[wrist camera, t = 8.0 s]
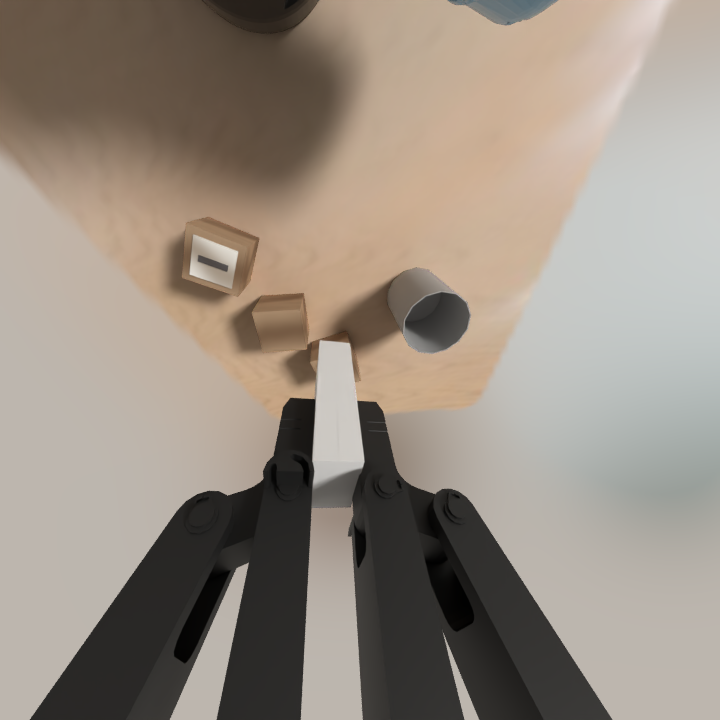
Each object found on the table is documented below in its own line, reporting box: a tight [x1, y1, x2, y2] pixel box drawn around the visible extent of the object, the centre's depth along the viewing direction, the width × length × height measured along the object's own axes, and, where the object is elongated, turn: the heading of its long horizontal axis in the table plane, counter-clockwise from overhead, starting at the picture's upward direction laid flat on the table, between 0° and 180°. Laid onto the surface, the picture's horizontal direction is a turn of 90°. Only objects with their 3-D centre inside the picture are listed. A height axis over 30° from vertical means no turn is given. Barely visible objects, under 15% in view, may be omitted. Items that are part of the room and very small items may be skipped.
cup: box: [387, 267, 471, 354], centre depth 35 cm, size 8×8×10 cm
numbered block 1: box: [182, 217, 259, 297], centre depth 31 cm, size 6×6×6 cm
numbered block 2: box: [310, 331, 361, 382], centre depth 41 cm, size 6×6×6 cm
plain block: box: [252, 293, 309, 353], centre depth 36 cm, size 6×6×6 cm
